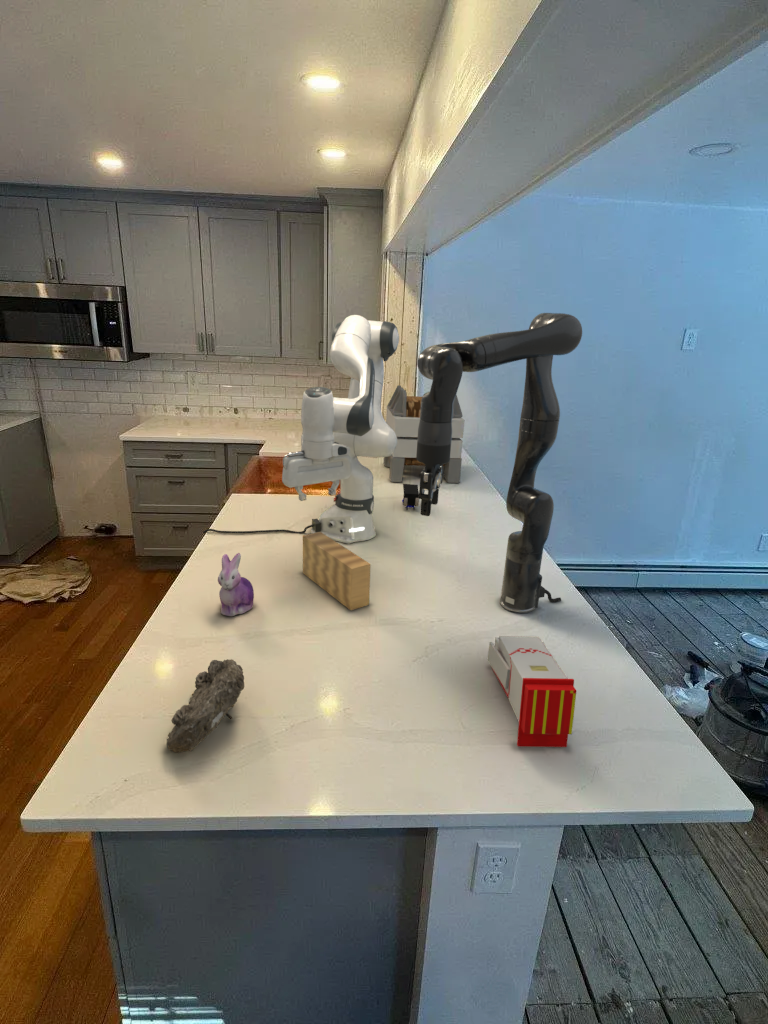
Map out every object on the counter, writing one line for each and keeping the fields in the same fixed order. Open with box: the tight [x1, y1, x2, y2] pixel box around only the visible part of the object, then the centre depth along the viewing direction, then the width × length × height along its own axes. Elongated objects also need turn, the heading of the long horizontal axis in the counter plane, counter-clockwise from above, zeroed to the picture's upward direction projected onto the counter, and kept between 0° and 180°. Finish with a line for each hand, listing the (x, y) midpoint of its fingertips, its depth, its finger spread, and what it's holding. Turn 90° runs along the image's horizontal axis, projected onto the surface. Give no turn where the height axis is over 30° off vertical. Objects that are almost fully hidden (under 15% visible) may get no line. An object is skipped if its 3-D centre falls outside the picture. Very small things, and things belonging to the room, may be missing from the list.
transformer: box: [383, 384, 465, 484], centre depth 268 cm, size 34×33×41 cm
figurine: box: [217, 552, 255, 617], centre depth 144 cm, size 9×10×15 cm
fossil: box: [166, 658, 245, 754], centre depth 106 cm, size 22×10×15 cm
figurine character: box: [401, 483, 420, 511], centre depth 227 cm, size 7×8×15 cm
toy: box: [486, 635, 577, 748], centre depth 115 cm, size 12×13×30 cm
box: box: [302, 532, 372, 611], centre depth 157 cm, size 26×6×12 cm, turn 36°
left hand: (317, 497), depth 158 cm, fingers open, 8 cm apart
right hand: (429, 509), depth 131 cm, fingers open, 8 cm apart
